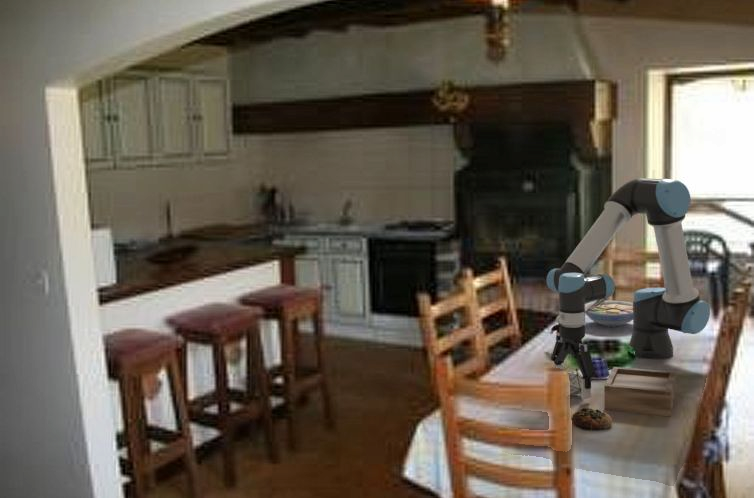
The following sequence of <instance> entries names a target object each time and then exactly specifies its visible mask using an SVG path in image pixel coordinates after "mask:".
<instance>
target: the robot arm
mask: <svg viewBox="0 0 754 498" xmlns="http://www.w3.org/2000/svg"><path fill="white" fill-rule="evenodd" d="M691 201H692V200H691V194H690V191H689V189H688V187H687V185H685V184H684V183H683V182H681V181H680V180H677V179H676V180H675V179H671V178H645V177H640V178H639V177H638V178H635V179H634V178H633V179H632V180H630V181H627V182H626V183H624V184H623V185H621V186H620V187H619V188H618V189H617V190H615V192H613V193H612V194H611V196H610V197H609V198H608V199H607V201H606V202H605V203H604V206H603V208H604V209H603V211H602V212H601V214H600V215H599V216H598V218H596V220H595V222H594V223H593V224H592V226H591V227H590V228H589V230H588V231H587V233H586V234H585V235H584V236H583V238H582V240H581V241H579V242H578V245H577V246H576V247H575V248H574V250H573V251H572V253H571V254H570V255H569V256H568V257H567V259H566V261H565V262H564V263H563V265H561V267H558V268H553V269H551V270H550V271H549V272H548V273H547V276H546V285H547V287H548V289H550V290H551V291H553V292H556V293H558V307H559V308H558V310H559V312H558V313H559V315H558V316H559V318H560V326H559V332H560V335H557V336H556V335H555V344H554V347H553V351H552V353H551V357H550V361H551V362H553V363H554V366H555V368H560V369H565V364H564V363H565V360H566V358H567V356H568V355H571V356H572V357H573V358H572V359H574V360H575V362H576V363H577V366H578V368H579V370H580V371H581V373H582V375H583V377H582V378H581V394H582V395H581V394H580V395H581V400H587V399H591V398H592V393H591V392H592V391H591V389H592V378H593V377H596V373H595V369H594V366H593V362H592V359H591V358H592V356H591V353H590V351H591V350H590V344H588V343H586V344H583V341H582V340H583V339H585V336H586V326H585V323H586V313H585V304H587V303H590V302H596V301H597V300H600V299H601V300H603V299H605V298H609V297H611V296H613V295H614V293H615V291H616V283H615V281H614V279H613V278H612V276H611V275H610V274H608V273H601V274H600V273H598V274H589V273H588V272H589V270H590V269H591V268H592V266H593V265H594V263H595V262H596V261H597V260H598V259H599V257H600V256H601V254H602V253H603V251H605V249H606V247H607V246H608V245H609V243H610V242H611V241H612V240H613V238H614V236H615V235H616V234H617V233H618V231H619V230H620V229H621V228H622V226H623V224H624V223H628V222H629V221H630V220H631V219H632V218H633V217H634V216H636V215H637V214H640V215H641V214H642V215H643V214H644V215H646V221H647V224H648V225H650V226H651V227H652V228H653V229H654V235H655V236H654V237H655V242H656V246H657V251H658V257H659V262H660V266H661V267H660V268H661V271H662V272H661V273H662V279H663V283H664V287H648V288H641V289H637V290H636V291H635V292H634V293H633V301H632V303H633V320H632V325H633V326H632V328H633V329H632V333H631V336H630V341H629V343H628V345H629V346H631V347H633V349H634V351H635V355H636V356H635V357H636V358H637V357H638V358H642V359H653V360H654V359H666V358H669V357H672V356H673V355H674V346H673V343H672V340H671V337H670V333H669V330H672V331H677V332H681V333H683V334H690V335H697V334H700V332H702V331H703V330H704V329H705V328H706V326H707V325H708V322H709V319H710V315H711V308H710V305H709V303H708V302H706V301H705V300H702V299H701V296H700V292H699V290H698V289H697V288H696V287H694V284H693V280H692V276H691V274H692V273H691V269H690V261H689V258H688V251H687V246H686V241H685V235H684V230H683V229H684V228H683V225H682V222H683V221H684V220H685V219H686V214H687V213H688V211H689V210H690V205H691ZM601 300H600V301H601ZM555 368H554V369H555Z"/></svg>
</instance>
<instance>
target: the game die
mask: <svg viewBox="0 0 754 498" xmlns="http://www.w3.org/2000/svg"><path fill="white" fill-rule="evenodd" d="M578 371H579V370H578V368H575V370H571V371H567V372H568V374H569V380H570V396H575V395H580V396H582V394H581V378H582V377H583V376H582V375H581V374H580V373H579V372H578Z"/></svg>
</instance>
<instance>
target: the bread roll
mask: <svg viewBox="0 0 754 498" xmlns="http://www.w3.org/2000/svg"><path fill="white" fill-rule="evenodd" d="M571 421H572V424H573V426H574V427H576V428H579V429H581V430H583V431H584V430H585V431H602V429H604V430H606V429H610V428H611V427H612V426H613V420H612V418H611V416H610V415H609V414H608V413H606V412H605V411H601V410H599V409H594V408H593V409H592V408H589V407H588V408H587V407H583V408H582V409H580V410H578V411H575V413H573V414H572V416H571Z"/></svg>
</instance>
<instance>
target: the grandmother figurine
mask: <svg viewBox="0 0 754 498" xmlns="http://www.w3.org/2000/svg"><path fill="white" fill-rule="evenodd" d="M554 321H555V322H556V323H557V324H555V325H553V326H552V327H551V330H550V335H553V333H554V332H555V331H556V334H555V337H556V336H557V335H560V332H559V326H560V318H559V315H557V316H556V318H555V320H554Z"/></svg>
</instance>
